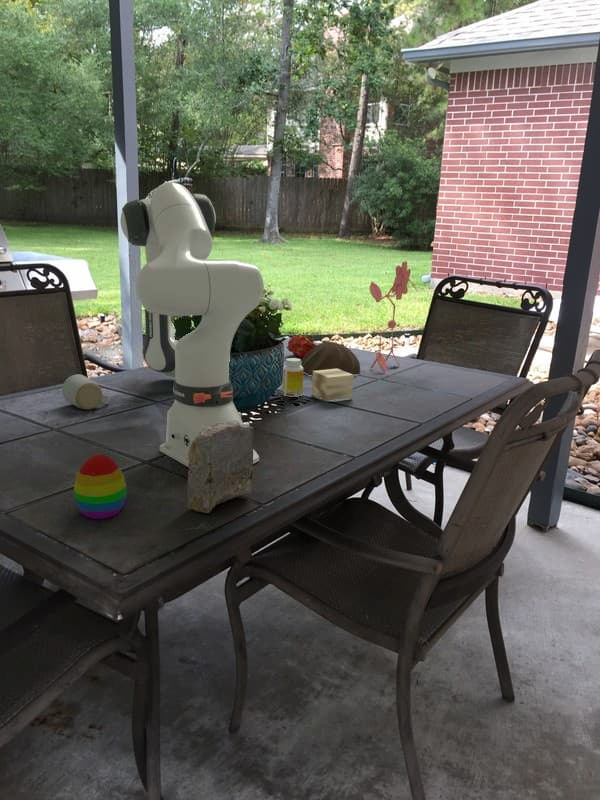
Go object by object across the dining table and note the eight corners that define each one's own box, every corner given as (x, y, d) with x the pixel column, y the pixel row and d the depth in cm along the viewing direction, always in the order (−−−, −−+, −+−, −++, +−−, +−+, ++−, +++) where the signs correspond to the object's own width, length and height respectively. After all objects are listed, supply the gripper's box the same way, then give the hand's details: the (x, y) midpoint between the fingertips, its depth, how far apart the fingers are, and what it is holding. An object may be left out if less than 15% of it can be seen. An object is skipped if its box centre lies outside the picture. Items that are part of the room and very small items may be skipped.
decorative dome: (286, 371, 211) (287, 340, 208) (330, 363, 224) (331, 334, 221) (329, 383, 198) (330, 350, 195) (373, 374, 211) (375, 343, 208)
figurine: (355, 373, 209) (365, 260, 199) (391, 360, 230) (401, 257, 220) (400, 382, 201) (412, 265, 191) (432, 368, 222) (445, 262, 212)
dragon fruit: (286, 358, 236) (315, 367, 230) (278, 347, 228) (307, 357, 223) (297, 337, 237) (325, 346, 232) (289, 326, 230) (318, 335, 225)
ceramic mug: (77, 413, 160) (75, 382, 158) (62, 405, 166) (60, 375, 164) (117, 406, 167) (116, 377, 165) (101, 399, 173) (100, 370, 171)
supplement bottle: (306, 396, 182) (308, 360, 179) (290, 399, 178) (291, 362, 175) (293, 392, 186) (295, 356, 183) (278, 395, 182) (279, 358, 179)
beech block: (352, 399, 180) (353, 374, 178) (327, 403, 176) (328, 377, 174) (336, 392, 187) (337, 368, 185) (311, 395, 183) (312, 371, 181)
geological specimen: (231, 490, 119) (231, 411, 115) (256, 500, 116) (257, 418, 112) (186, 509, 111) (184, 424, 107) (211, 520, 108) (211, 433, 103)
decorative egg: (133, 503, 113) (131, 447, 110) (117, 524, 105) (115, 466, 102) (86, 500, 113) (83, 445, 111) (67, 521, 106) (63, 463, 103)
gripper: (190, 362, 178) (236, 367, 174) (224, 349, 197) (267, 353, 192) (190, 385, 180) (236, 391, 176) (224, 369, 199) (266, 374, 194)
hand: (252, 371), depth 184 cm, fingers open, 8 cm apart
